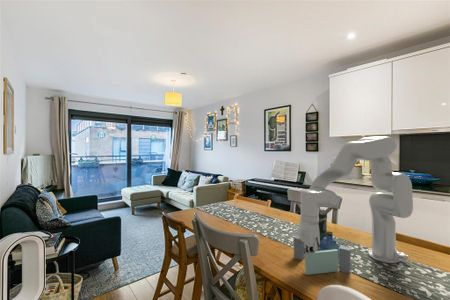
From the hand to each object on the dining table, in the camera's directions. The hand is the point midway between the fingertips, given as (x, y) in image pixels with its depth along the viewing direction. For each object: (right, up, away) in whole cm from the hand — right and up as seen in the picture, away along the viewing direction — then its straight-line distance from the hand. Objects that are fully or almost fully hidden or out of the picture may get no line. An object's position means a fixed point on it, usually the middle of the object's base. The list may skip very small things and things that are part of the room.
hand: (309, 258), depth 98 cm
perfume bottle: (+14, -5, +11) cm, 19 cm away
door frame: (+7, -5, +4) cm, 9 cm away
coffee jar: (+16, -5, +27) cm, 32 cm away
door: (+4, -4, -3) cm, 7 cm away
